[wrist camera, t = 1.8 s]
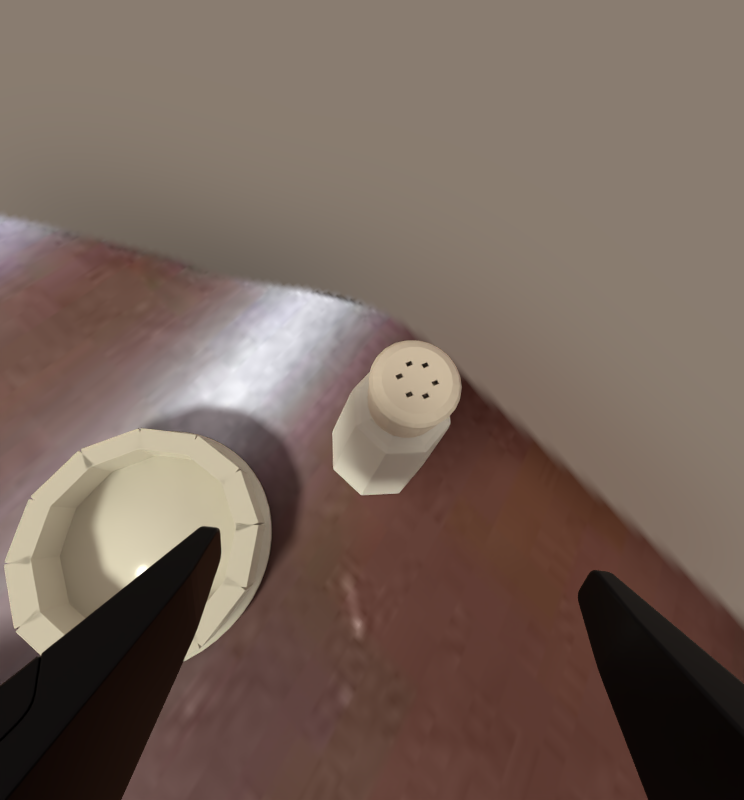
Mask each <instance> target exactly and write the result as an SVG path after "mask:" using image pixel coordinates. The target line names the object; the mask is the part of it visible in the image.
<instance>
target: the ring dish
mask: <svg viewBox="0 0 744 800" xmlns="http://www.w3.org/2000/svg"><path fill="white" fill-rule="evenodd" d="M81 451H82V452H81ZM81 451H78V452H77V453H76V454H75V455H73V456H72V457H71V458H70V459H69V460H68V461H67V462H66V463H65V464H64V465H63V466H62V467H61V468H60V469H59V470H58V471H57V472H56V473H55V474H54V475H53V476H52V477H51V478H50V479H48V480H47V481H46V482H45V483H44V484H43V485H42V486H41V487H40V488H39V489H38V490H37V491H36V492H35V493H34V494H33V495H32V496H31V497H32V498H33V499H34V500H28V503H27V505H26V508H25V510H24V513H23V515H22V518H21V521H20V523H19V526H18V528H17V531H16V533H15V536H14V539H13V541H12V544H11V546H10V549H9V552H8V554H7V557H6V559H5V562H6V563H9V564H6V565H4V569H5V575H6V582H7V588H8V594H9V600H10V607H11V613H12V619H13V625H14V629H15V628H18V627H19V628H18V630H17V631H16V633H17V634H18V635H20V636H21V637H22V638H23V639H24V640H25V641H26V642H27V643H28V644H29V645H30V646H31V647H32V648H33V649H34V650H36V651H37V652H38V653H39V654H40V655H41V654H42V653H43V652H44V651H45V650H46V649H47V648H49V647H50V646H51V645H52V644H54V643H55V642H56V641H57V640H59V639H60V638H61V637H63V636H64V635H65V634H66V633H68V632H69V631H70V630H71V629H73V628H74V627H75V626H76V625H78V624H79V623H80V622H81V621H83V620H84V619H85V618H86V617H88V616H89V615H90V614H91V613H93V612H94V611H95V610H96V609H98V608H99V607H100V606H101V605H103V604H104V603H105V602H106V601H108V600H109V599H110V598H111V597H113V596H114V595H115V594H116V593H118V592H119V591H120V590H121V589H123V588H124V587H125V586H126V585H128V584H129V583H130V582H131V581H133V580H134V579H135V578H136V577H138V576H139V575H140V574H141V573H143V572H144V571H145V570H146V569H148V568H149V567H150V566H151V565H153V564H154V563H155V562H156V561H158V560H159V559H160V558H162V557H163V556H164V555H165V554H167V553H168V552H169V551H170V550H172V549H173V548H174V547H175V546H177V545H178V544H179V543H180V542H182V541H183V540H184V539H185V538H187V537H188V536H189V535H190V534H192V533H193V532H194V531H195V530H197V529H198V528H199V527H201V526H209V527H217V528H219V530H220V534H221V559H220V563H219V566H218V569H217V572H216V575H215V578H214V581H213V584H212V587H211V590H210V593H209V596H208V599H207V602H206V605H205V608H204V611H203V614H202V617H201V620H200V623H199V626H198V629H197V631H196V634H195V636H194V638H193V641H192V643H191V645H190V648H189V650H188V652H187V654H186V656H185V659H184V661H185V660H187V659H189V658H191V657H192V656H194V655H196V654H198V653H199V652H201V651H203V650H204V649H205V648H207V647H208V646H210V645H211V644H212V643H214V642H215V641H216V640H217V639H218V638H220V637H221V636H222V635H223V634H224V633H225V632H226V631H227V630H228V629H229V628H230V627H231V626H232V625H233V624H234V623H235V622H236V621H237V619H238V618H239V617H240V616H241V615H242V613H243V612H244V611H245V609H246V608H247V606H248V605H249V603H250V602H251V600H252V599H253V597H254V595H255V594H256V592H257V590H258V588H259V586H260V584H261V581H262V579H263V576H264V573H265V571H266V568H267V564H268V560H269V556H270V551H271V542H272V520H271V513H270V507H269V504H268V500H267V496H266V494H265V492H264V489H263V487H262V485H261V483H260V481H259V479H258V478H257V476H256V474H255V473H254V472H253V470H252V469H251V468H250V467H249V465H248V464H247V463H246V462H245V461H244V460H243V459H242V458H241V457H239V456H238V455H237V454H236V453H235V452H233V451H232V450H230V449H229V448H227V447H226V446H224V445H223V444H221V443H219V442H217V441H215V440H213V439H210V438H207V437H204V436H201V435H198V434H193V433H188V432H176V431H161V430H153V429H145V428H141V429H136V430H133V431H130V432H127V433H125V434H122V435H119V436H116V437H113V438H111V439H108V440H105V441H102V442H100V443H97V444H94V445H91V446H88V447H86V448H83V449H81Z"/></svg>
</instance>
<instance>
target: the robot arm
mask: <svg viewBox="0 0 744 800" xmlns="http://www.w3.org/2000/svg"><path fill="white" fill-rule="evenodd" d="M220 559H221V534H220V530H219V528H217V527H209V526H201V527H199V528H198V529H197V530H195V531H194V532H193V533H192V534H190V535H189V536H188V537H187V538H185V539H184V540H183V541H182V542H180V543H179V544H178V545H177V546H175V547H174V548H173V549H172V550H170V551H169V552H168V553H167V554H165V555H164V556H163V557H162V558H160V559H159V560H158V561H156V562H155V563H154V564H153V565H151V566H150V567H149V568H148V569H146V570H145V571H144V572H143V573H141V574H140V575H139V576H138V577H136V578H135V579H134V580H133V581H131V582H130V583H129V584H128V585H126V586H125V587H124V588H123V589H121V590H120V591H119V592H118V593H116V594H115V595H114V596H113V597H111V598H110V599H109V600H108V601H106V602H105V603H104V604H103V605H101V606H100V607H99V608H98V609H96V610H95V611H94V612H93V613H91V614H90V615H89V616H88V617H86V618H85V619H84V620H83V621H81V622H80V623H79V624H78V625H76V626H75V627H74V628H73V629H71V630H70V631H69V632H68V633H66V634H65V635H64V636H63V637H61V638H60V639H59V640H57V641H56V642H55V643H54V644H52V645H51V646H50V647H49V648H47V649H46V650H45V651H44V652H43V653H42V654H41V657H39V656H38V657H36V658H35V659H33V660H32V661H31V662H30V663H28V664H27V665H26V666H25V667H23V668H22V669H21V670H20V671H18V672H17V673H16V674H15V675H13V676H12V677H11V678H9V679H8V680H7V681H6V682H4V683H3V684H2V685H0V800H121V799H122V797H123V795H124V792H125V790H126V788H127V786H128V783H129V781H130V779H131V777H132V774H133V772H134V770H135V768H136V766H137V763H138V761H139V759H140V757H141V754H142V752H143V750H144V748H145V746H146V743H147V741H148V739H149V737H150V734H151V732H152V730H153V728H154V726H155V723H156V721H157V719H158V717H159V714H160V712H161V710H162V708H163V705H164V703H165V701H166V699H167V697H168V694H169V692H170V690H171V688H172V685H173V683H174V681H175V679H176V677H177V674H178V672H179V670H180V668H181V665H182V663H183V661H184V659H185V656H186V654H187V652H188V650H189V648H190V645H191V643H192V641H193V638H194V636H195V634H196V631H197V629H198V626H199V623H200V620H201V617H202V614H203V611H204V608H205V605H206V602H207V599H208V596H209V593H210V590H211V587H212V584H213V581H214V578H215V575H216V572H217V569H218V566H219V563H220ZM578 601H579V605H580V609H581V612H582V616H583V619H584V623H585V626H586V630H587V633H588V637H589V640H590V644H591V647H592V651H593V654H594V657H595V661H596V664H597V667H598V670H599V673H600V676H601V678H602V681H603V684H604V686H605V689H606V692H607V694H608V697H609V699H610V702H611V704H612V707H613V710H614V712H615V715H616V717H617V720H618V723H619V725H620V728H621V730H622V733H623V736H624V738H625V741H626V743H627V746H628V749H629V751H630V754H631V756H632V759H633V762H634V764H635V767H636V769H637V772H638V775H639V777H640V780H641V782H642V785H643V788H644V790H645V793H646V795H647V798H648V800H744V684H743V683H742V682H741V681H740V680H738V679H737V678H736V677H735V676H734V675H733V674H731V673H730V672H729V671H728V670H727V669H725V668H724V667H723V666H722V665H721V664H719V663H718V662H717V661H716V660H715V659H713V658H712V657H711V656H710V655H709V654H707V653H706V652H705V651H704V650H703V649H702V648H700V647H699V646H698V645H697V644H696V643H694V642H693V641H692V640H691V639H690V638H688V637H687V636H686V635H685V634H684V633H682V632H681V631H680V630H679V629H678V628H676V627H675V626H674V625H673V624H672V623H671V622H669V621H668V620H667V619H666V618H665V617H663V616H662V615H661V614H660V613H659V612H657V611H656V610H655V609H654V608H653V607H651V606H650V605H649V604H648V603H647V602H646V601H644V600H643V599H642V598H641V597H640V596H638V595H637V594H636V593H635V592H634V591H632V590H631V589H630V588H629V587H628V586H626V585H625V584H624V583H623V582H622V581H620V580H619V579H618V578H617V577H616V576H615V575H613V574H612V573H610V572H606V571H598V570H593V571H591V572H590V573H589V575H588V576H587V578H586V580H585V581H584V583H583V585H582V586H581V588H580V590H579V592H578Z"/></svg>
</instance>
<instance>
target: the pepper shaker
mask: <svg viewBox="0 0 744 800" xmlns="http://www.w3.org/2000/svg"><path fill="white" fill-rule="evenodd" d="M461 389H462V386H461V378H460V374H459V372H458V370H457V367H456V365H455V364H454V362H453V361H452V360H451V358H450V357H449V356H448V355H447V354H446V353H445V352H443V351H442V350H441V349H440V348H438V347H436V346H434V345H432V344H430V343H427V342H422V341H418V340H405V341H402V342H398V343H394V344H393V345H391V346H389V347H387V348H385V349H384V350H383V351H382V352H381V353H380V354H379V355H378V356H377V358H376V359H375V361H374V363H373V365H372V367H371V371H370V372H369V373H368V374H367V375H366V376H365V377H364V378H363V379H362V381H361V382H360V383H359V384H358V385H357V386H356V387H355V388H354V389H353V391H352V392H351V394H350V396H349V398H348V400H347V402H346V404H345V406H344V408H343V411H342V413H341V415H340V417H339V419H338V421H337V423H336V426H335V428H334V430H333V432H332V436H333V469H334V470H335V471H336V472H337V473H338V474H339V475H340V476H341V477H342V478H343V479H344V480H345V481H347V482H348V483H349V484H350V485H351V486H352V487H353V488H354V489H355V490H356V491H357V492H358V493H359V494H360V495H374V494H394V493H400V491H401V490H402V489H403V488H404V487H405V486H406V484H407V483H408V482H409V481H410V480H411V478H412V477H413V476H414V475H415V474H416V473H417V471H418V470H419V469H420V468H421V467H422V465H423V464H424V463H425V461H426V460H427V458H428V457H429V455H430V454H431V453H432V451H433V450H434V448H435V447H436V445H437V444H438V443H439V441H440V440H441V438H442V437H443V435H444V434H445V432H446V431H447V430H448V428H449V426H450V415H451V414H452V412H453V411H454V410H455V409H456V407H457V405H458V402H459V400H460V396H461Z"/></svg>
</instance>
